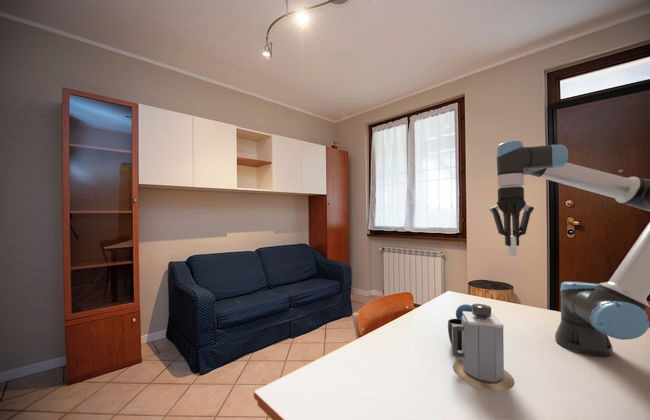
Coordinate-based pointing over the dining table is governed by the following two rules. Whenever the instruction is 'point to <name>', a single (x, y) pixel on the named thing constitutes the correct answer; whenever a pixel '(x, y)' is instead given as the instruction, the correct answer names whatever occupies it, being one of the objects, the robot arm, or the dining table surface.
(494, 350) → the carafe
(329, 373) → the dining table surface
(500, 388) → the cork trivet
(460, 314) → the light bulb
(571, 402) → the dining table surface
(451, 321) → the mug
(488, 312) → the plunger
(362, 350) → the dining table surface
